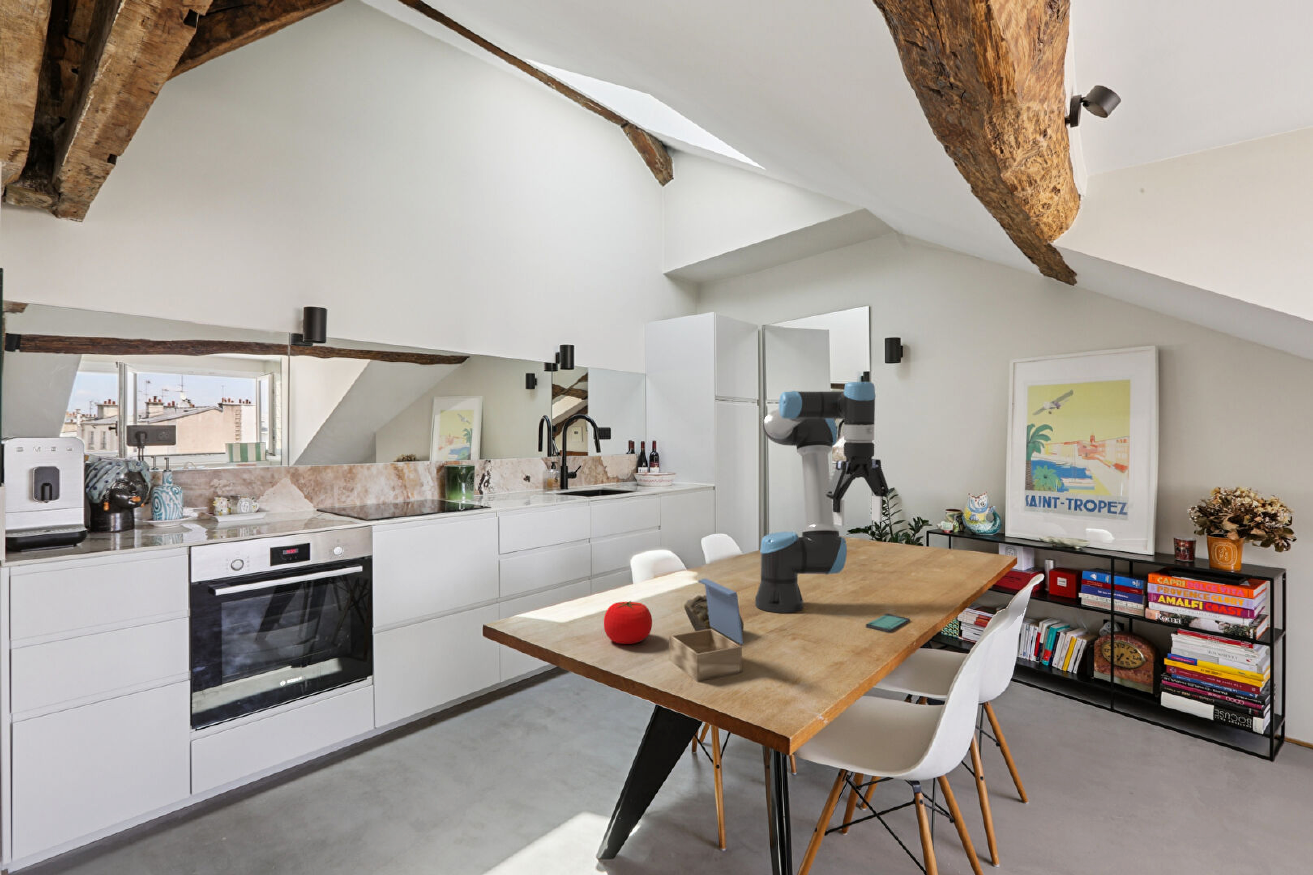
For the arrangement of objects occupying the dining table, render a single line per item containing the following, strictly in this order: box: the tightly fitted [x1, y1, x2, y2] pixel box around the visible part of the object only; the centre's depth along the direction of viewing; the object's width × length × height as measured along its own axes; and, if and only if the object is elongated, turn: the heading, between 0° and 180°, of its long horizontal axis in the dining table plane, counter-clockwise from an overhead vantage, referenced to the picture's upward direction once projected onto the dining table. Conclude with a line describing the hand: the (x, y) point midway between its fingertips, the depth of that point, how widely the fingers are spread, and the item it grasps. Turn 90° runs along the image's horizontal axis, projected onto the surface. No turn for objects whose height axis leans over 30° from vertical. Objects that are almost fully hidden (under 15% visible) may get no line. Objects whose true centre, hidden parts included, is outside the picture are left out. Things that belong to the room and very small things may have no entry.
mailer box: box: [668, 629, 743, 682], centre depth 144 cm, size 14×12×6 cm
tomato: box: [603, 600, 653, 645], centre depth 162 cm, size 14×13×10 cm
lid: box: [698, 578, 744, 645], centre depth 146 cm, size 14×12×2 cm
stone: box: [684, 594, 745, 641], centre depth 164 cm, size 16×9×15 cm
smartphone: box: [865, 613, 911, 634], centre depth 175 cm, size 7×1×15 cm
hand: (858, 522), depth 156 cm, fingers open, 13 cm apart
